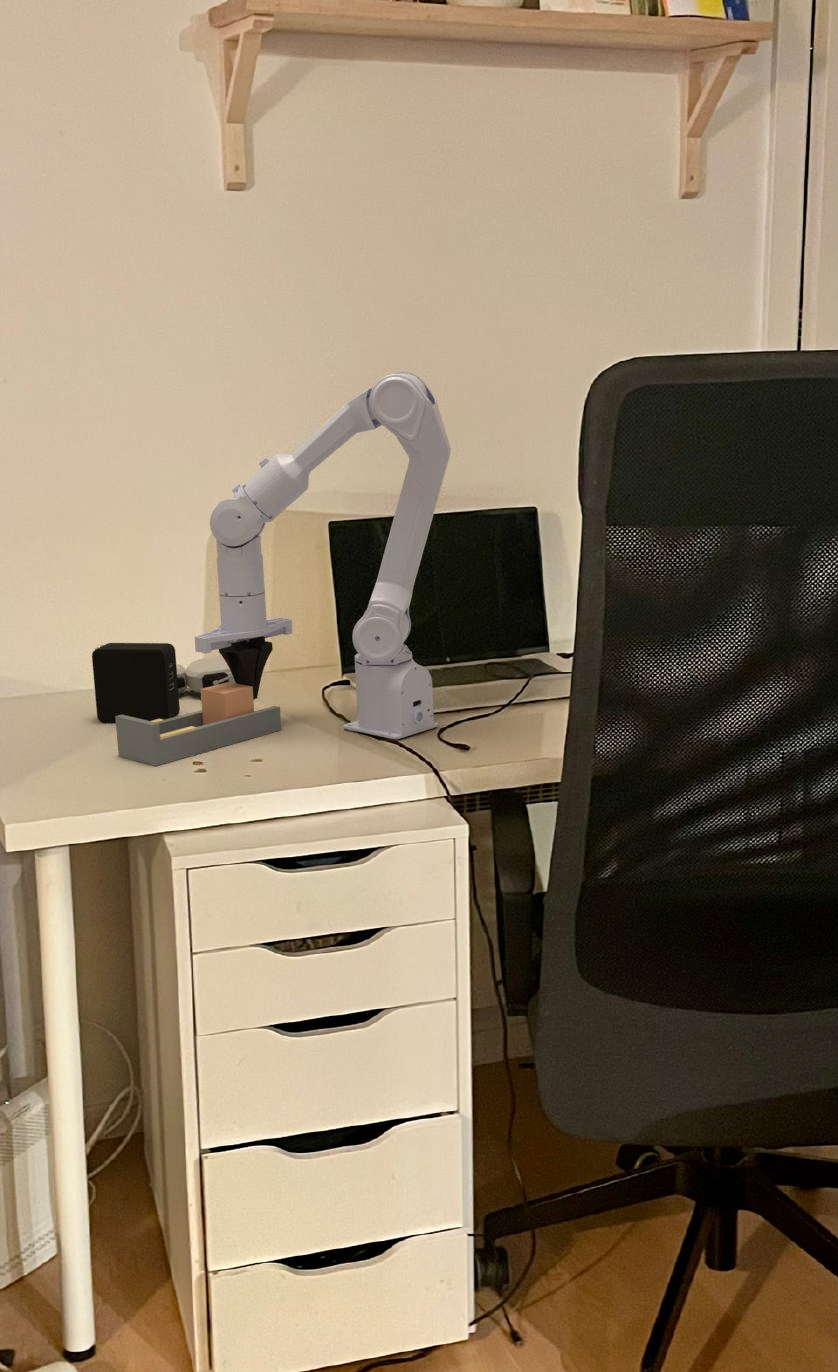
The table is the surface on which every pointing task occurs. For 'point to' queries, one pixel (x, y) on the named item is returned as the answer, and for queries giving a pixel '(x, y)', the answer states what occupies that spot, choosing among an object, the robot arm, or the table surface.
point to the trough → (188, 734)
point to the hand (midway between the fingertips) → (248, 698)
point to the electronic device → (135, 681)
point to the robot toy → (203, 674)
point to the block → (226, 701)
